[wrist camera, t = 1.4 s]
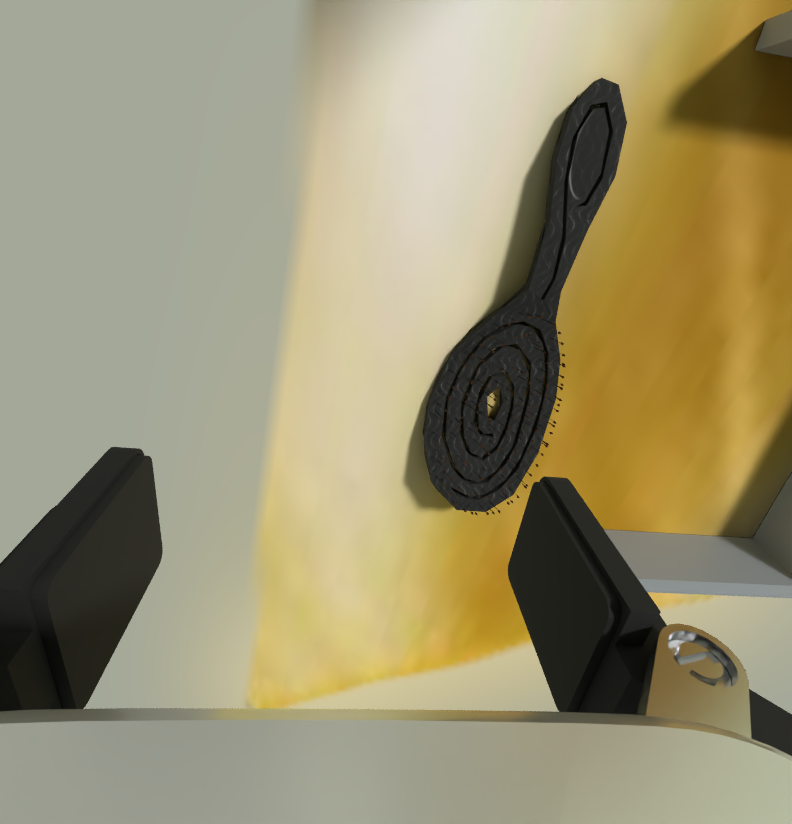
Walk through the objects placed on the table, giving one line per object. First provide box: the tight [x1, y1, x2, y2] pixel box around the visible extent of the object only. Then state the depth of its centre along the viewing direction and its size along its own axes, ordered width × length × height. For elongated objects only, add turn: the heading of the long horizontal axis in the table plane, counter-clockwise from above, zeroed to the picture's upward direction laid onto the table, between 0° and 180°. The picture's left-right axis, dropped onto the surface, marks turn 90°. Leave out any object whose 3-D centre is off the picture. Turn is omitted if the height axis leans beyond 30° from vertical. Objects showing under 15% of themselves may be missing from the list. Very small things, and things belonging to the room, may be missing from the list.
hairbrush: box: [423, 78, 627, 515], centre depth 28 cm, size 8×4×25 cm
